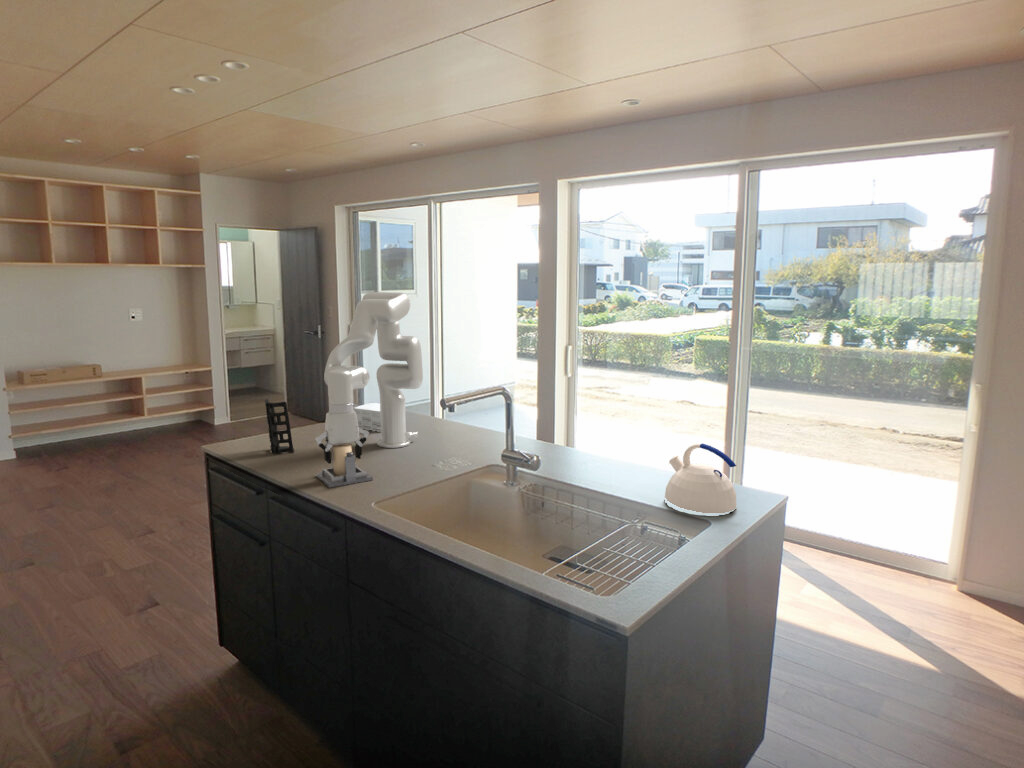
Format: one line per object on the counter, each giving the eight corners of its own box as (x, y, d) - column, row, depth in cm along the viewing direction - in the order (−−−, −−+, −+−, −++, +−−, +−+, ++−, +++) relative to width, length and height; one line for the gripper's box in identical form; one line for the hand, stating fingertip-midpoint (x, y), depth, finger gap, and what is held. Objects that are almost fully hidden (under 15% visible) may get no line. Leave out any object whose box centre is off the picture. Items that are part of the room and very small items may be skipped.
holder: (300, 449, 240) (293, 398, 235) (287, 456, 233) (280, 404, 228) (276, 447, 243) (269, 396, 238) (263, 454, 236) (255, 402, 231)
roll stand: (357, 468, 217) (356, 440, 215) (373, 480, 205) (372, 450, 203) (315, 475, 210) (314, 446, 208) (329, 488, 197) (328, 457, 195)
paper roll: (349, 471, 211) (348, 441, 209) (355, 476, 206) (354, 445, 204) (331, 474, 208) (330, 444, 206) (337, 479, 203) (335, 448, 201)
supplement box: (402, 426, 278) (402, 405, 276) (382, 433, 266) (381, 411, 265) (373, 422, 286) (372, 401, 285) (352, 428, 275) (351, 407, 273)
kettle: (687, 487, 199) (689, 431, 196) (750, 505, 184) (754, 444, 181) (648, 503, 186) (651, 443, 182) (713, 523, 171) (717, 458, 168)
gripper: (363, 403, 211) (365, 453, 214) (310, 409, 202) (313, 461, 205) (371, 407, 205) (373, 458, 208) (317, 413, 195) (320, 467, 198)
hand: (343, 460), depth 206 cm, fingers open, 9 cm apart
